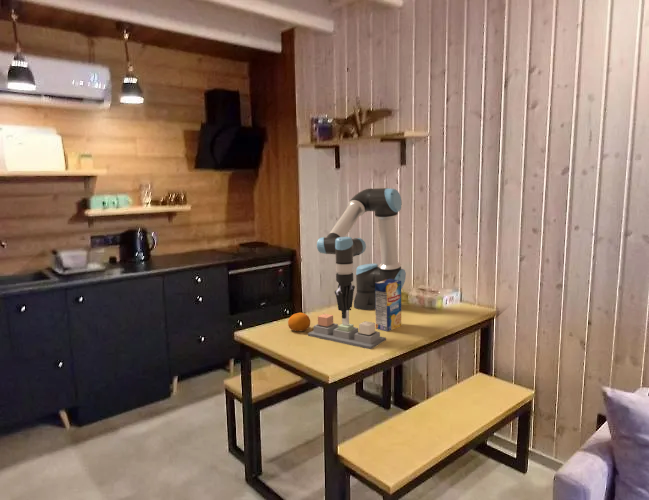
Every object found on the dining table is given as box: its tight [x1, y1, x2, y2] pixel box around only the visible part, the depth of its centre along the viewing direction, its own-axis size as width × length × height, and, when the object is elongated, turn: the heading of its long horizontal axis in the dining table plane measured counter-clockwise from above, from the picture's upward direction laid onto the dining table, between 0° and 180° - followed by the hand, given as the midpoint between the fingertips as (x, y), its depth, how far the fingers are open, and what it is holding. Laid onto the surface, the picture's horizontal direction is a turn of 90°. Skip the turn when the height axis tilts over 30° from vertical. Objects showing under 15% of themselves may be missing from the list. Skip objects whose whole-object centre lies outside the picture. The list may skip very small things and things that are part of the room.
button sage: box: [338, 323, 355, 332], centre depth 217 cm, size 5×5×4 cm
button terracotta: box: [317, 313, 334, 327], centre depth 223 cm, size 5×5×4 cm
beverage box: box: [374, 279, 402, 332], centre depth 229 cm, size 7×11×22 cm, turn 135°
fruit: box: [287, 312, 311, 332], centre depth 230 cm, size 10×10×8 cm
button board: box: [307, 322, 387, 350], centre depth 217 cm, size 13×33×4 cm, turn 54°
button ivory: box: [358, 320, 376, 335], centre depth 210 cm, size 5×5×4 cm
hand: (345, 324), depth 217 cm, fingers closed
